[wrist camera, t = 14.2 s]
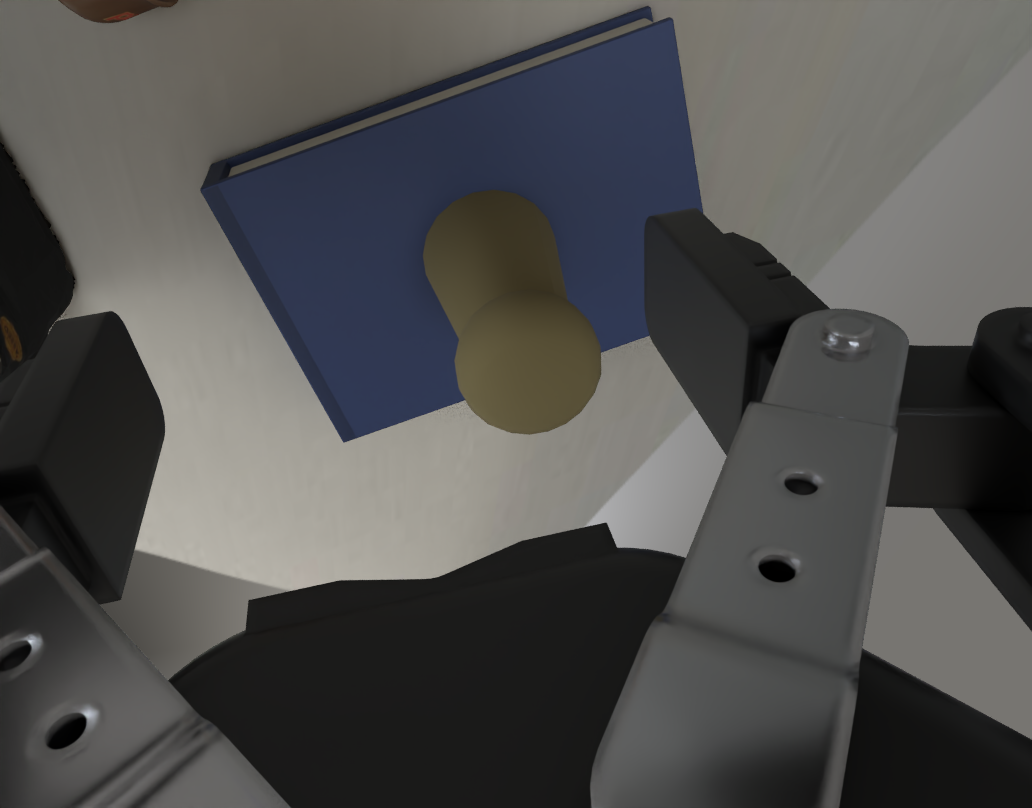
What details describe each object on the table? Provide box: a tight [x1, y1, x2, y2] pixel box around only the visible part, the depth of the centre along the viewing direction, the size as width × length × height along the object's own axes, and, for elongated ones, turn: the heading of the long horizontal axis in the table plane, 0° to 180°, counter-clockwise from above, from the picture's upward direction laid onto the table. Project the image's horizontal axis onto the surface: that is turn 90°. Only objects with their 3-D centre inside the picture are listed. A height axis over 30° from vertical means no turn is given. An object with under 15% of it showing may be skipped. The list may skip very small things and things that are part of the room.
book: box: [200, 6, 703, 442], centre depth 37 cm, size 20×14×3 cm
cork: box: [423, 190, 601, 434], centre depth 31 cm, size 6×6×11 cm
